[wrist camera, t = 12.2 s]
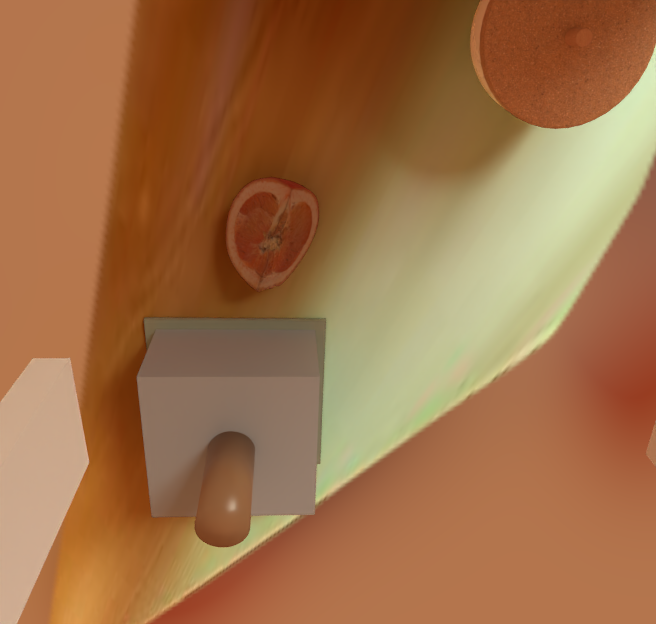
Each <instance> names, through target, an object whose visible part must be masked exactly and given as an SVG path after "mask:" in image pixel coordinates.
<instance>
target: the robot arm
mask: <svg viewBox="0 0 656 624" xmlns="http://www.w3.org/2000/svg"><path fill="white" fill-rule="evenodd" d="M646 455H647V456H648V457H649V459H650V460H651V461H652V462H653V464H654V465H655V466H656V422H655V425H654V428H653V432H652V435H651V438H650V441H649V445H648V448H647V451H646ZM88 464H89V458H88V453H87V447H86V442H85V436H84V431H83V426H82V420H81V415H80V409H79V404H78V399H77V393H76V388H75V382H74V377H73V372H72V366H71V361H70V358H33V359H32V360H31V362H30V363H29V364H28V365H27V367H26V368H25V369H24V371H23V372H22V373H21V375H20V376H19V377H18V379H17V380H16V381H15V383H14V384H13V386H12V387H11V389H10V390H9V391H8V392H7V394H6V395H5V396H4V398H3V399H2V400H1V402H0V624H17V622H18V620H19V618H20V616H21V613H22V611H23V609H24V607H25V604H26V602H27V600H28V598H29V595H30V593H31V591H32V589H33V587H34V584H35V582H36V580H37V577H38V575H39V573H40V571H41V569H42V567H43V564H44V562H45V560H46V558H47V555H48V553H49V551H50V549H51V547H52V544H53V542H54V540H55V538H56V535H57V533H58V531H59V529H60V527H61V524H62V522H63V520H64V518H65V515H66V513H67V511H68V509H69V506H70V504H71V502H72V500H73V498H74V495H75V493H76V491H77V489H78V486H79V484H80V482H81V480H82V478H83V475H84V473H85V471H86V469H87V466H88Z"/></svg>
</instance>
